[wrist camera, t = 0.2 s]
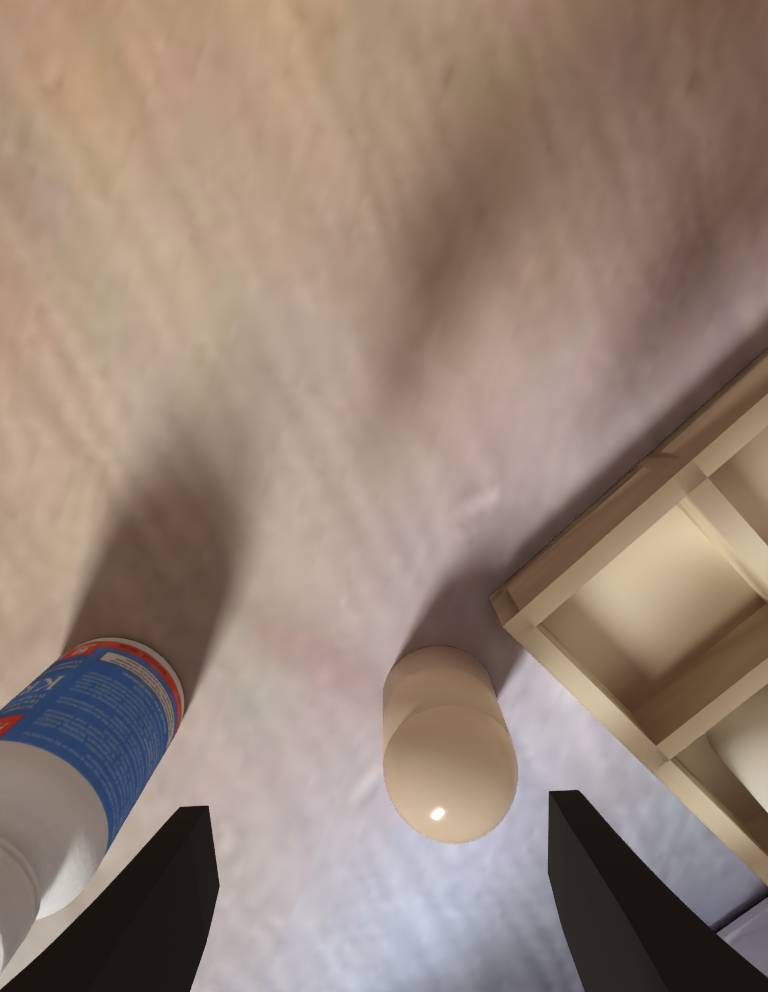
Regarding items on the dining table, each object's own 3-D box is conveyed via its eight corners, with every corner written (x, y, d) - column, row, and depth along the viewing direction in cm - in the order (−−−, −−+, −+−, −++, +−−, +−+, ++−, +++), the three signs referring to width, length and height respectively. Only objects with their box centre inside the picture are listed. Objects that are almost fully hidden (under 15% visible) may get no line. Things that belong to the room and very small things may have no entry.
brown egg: (515, 696, 22) (565, 817, 16) (436, 763, 23) (454, 905, 17) (439, 624, 21) (462, 722, 15) (360, 695, 22) (351, 817, 16)
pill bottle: (95, 606, 21) (-141, 797, 12) (213, 682, 22) (82, 919, 12) (26, 709, 22) (-244, 962, 13) (141, 777, 23) (-31, 1067, 13)
